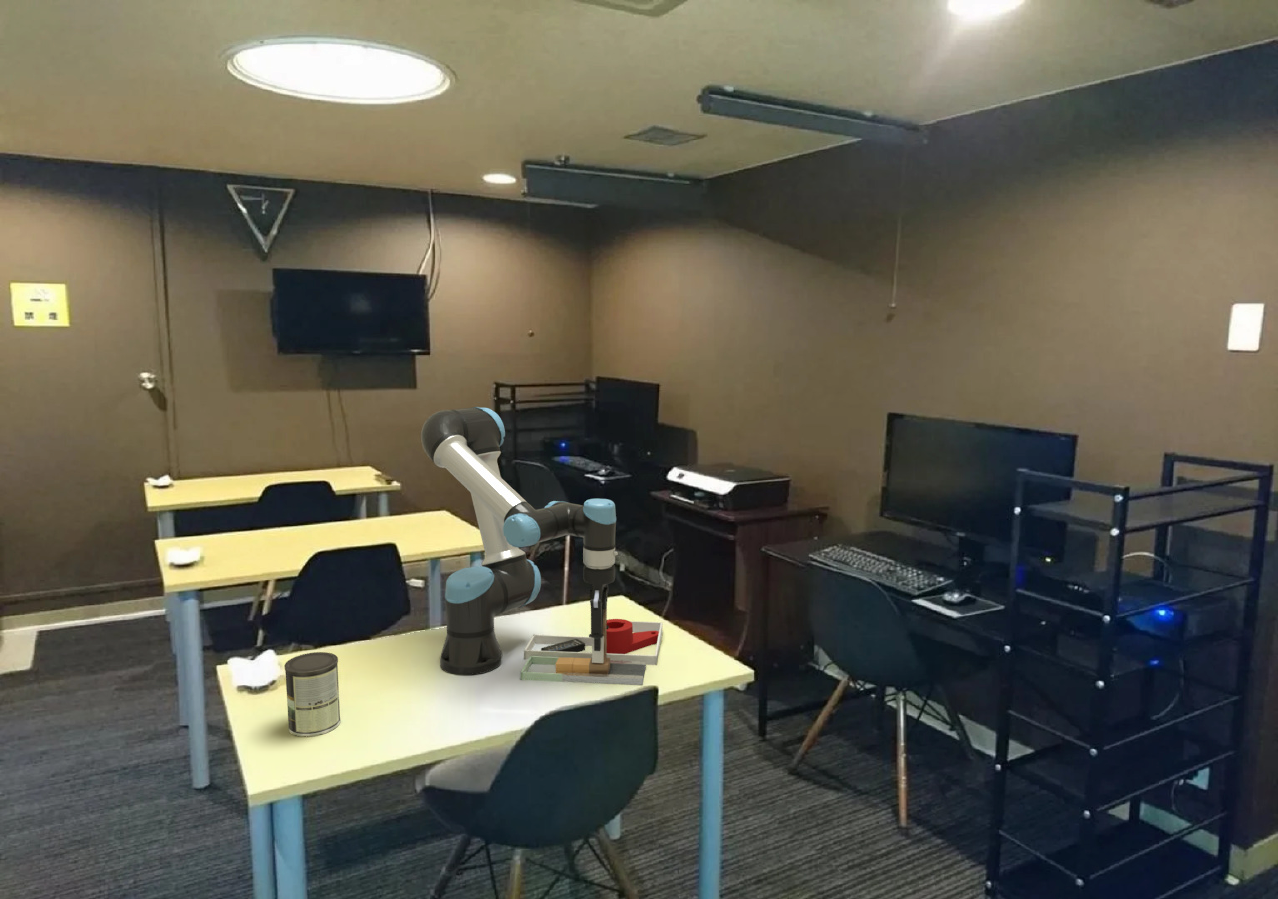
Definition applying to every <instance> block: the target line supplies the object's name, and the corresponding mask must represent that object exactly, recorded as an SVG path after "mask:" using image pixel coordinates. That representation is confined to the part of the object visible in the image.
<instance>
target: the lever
mask: <svg viewBox="0 0 1278 899" xmlns="http://www.w3.org/2000/svg"><path fill="white" fill-rule="evenodd" d="M630 621H631V620H628V619H624V618H611V619H610V618H609V619H607V626H609V629H607V653H609V654H629V653H633V652H635V651H638V650H641V649H643V648H644V649H645V648H647V647H650V646H653V645H657V641H658V635H659V631H645V632H633V624H632V623H631V622H630Z"/></svg>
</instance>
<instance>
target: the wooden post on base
mask: <svg viewBox="0 0 1278 899" xmlns="http://www.w3.org/2000/svg"><path fill="white" fill-rule="evenodd" d="M607 610H608V609H603V636H604V662H603V663H592V658H591V660H590V663H589V673H591V674H608V673H609V669H610V658H607V620H608V619H607V613H608V612H607Z"/></svg>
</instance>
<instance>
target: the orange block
mask: <svg viewBox="0 0 1278 899" xmlns="http://www.w3.org/2000/svg"><path fill="white" fill-rule="evenodd" d="M590 660H591V658H575V659H574V662H573V668H572V673H589V663H590Z"/></svg>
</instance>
